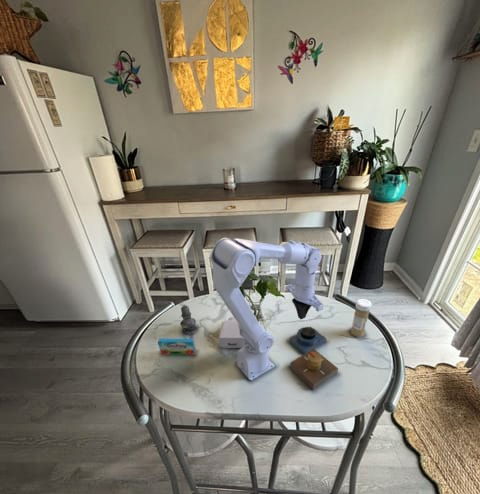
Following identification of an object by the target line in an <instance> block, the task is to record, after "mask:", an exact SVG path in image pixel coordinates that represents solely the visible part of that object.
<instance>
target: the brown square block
mask: <svg viewBox="0 0 480 494" xmlns="http://www.w3.org/2000/svg"><path fill="white" fill-rule="evenodd" d="M310 352H316V353H319V354H320V355H321V357H322V360H321V367H320V369H319V370H311V369H309V368H308V366H307V360H308V354H309V353H310ZM289 368H290V370H291V371H292V372H294V373H295V374H296V375H297V376H298V378H300V379H301V381H303V382H304V383H305V384H306V385H307V386H308V387H309V388H310V390H312V391H314V390H316V389H317V388H319V387H320V386H322V385H323V384H324V383H326V382H327V381H329V380H331V379H332V378H333V377H335V376H336V375H338V371H339V367H337V366H336V365H335V364H334V363H332V362H331V361H330V360H328V359H327V358H326V357H325V356H324V355H322V354H321V353H320V352H319V351H317V350H316V348H314V349H312V350H311V351H309V352H307V353H306V354H302V355H300V356H299V357H297V358H295V359H294V360H292V361H291V362H290V363H289Z"/></svg>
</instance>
